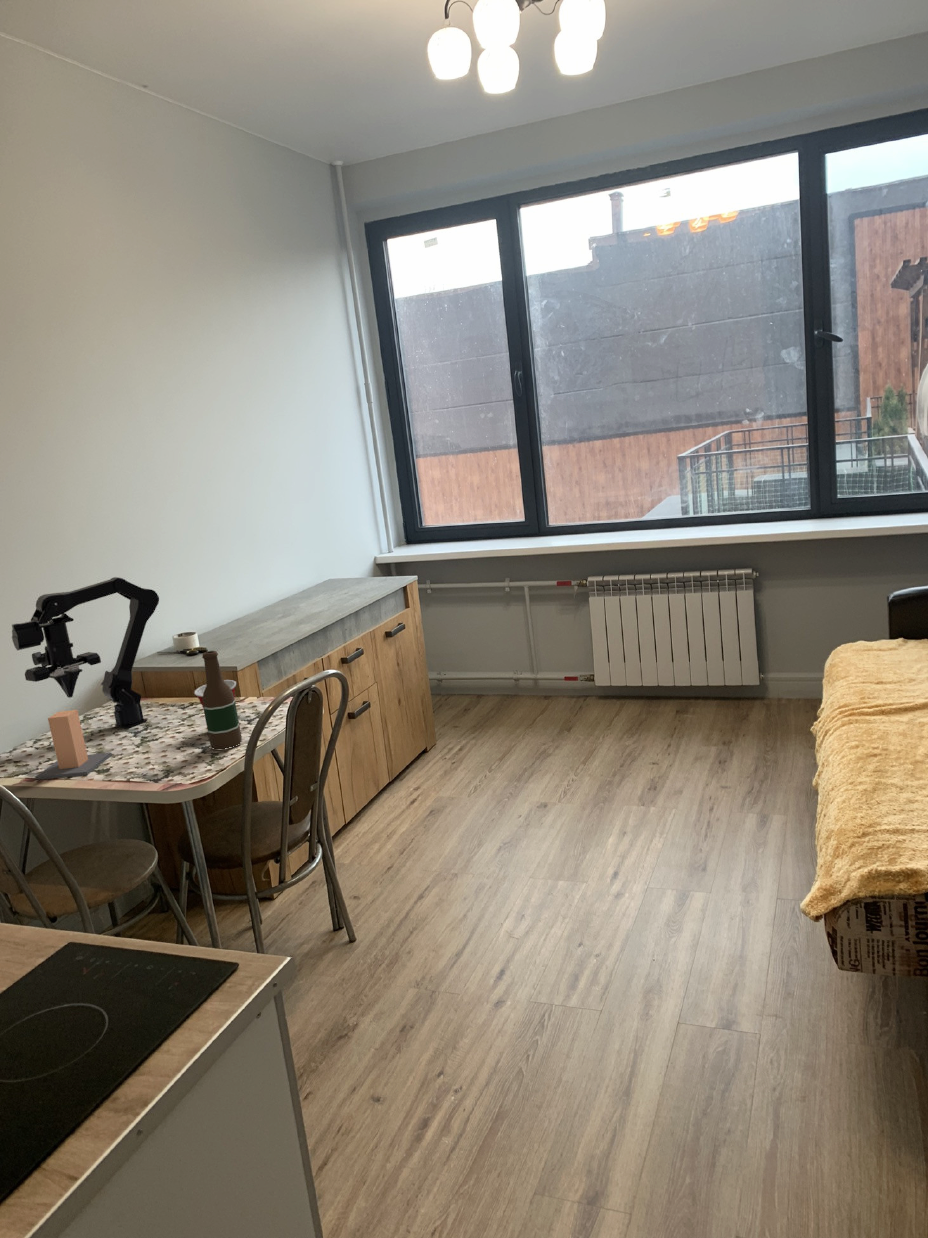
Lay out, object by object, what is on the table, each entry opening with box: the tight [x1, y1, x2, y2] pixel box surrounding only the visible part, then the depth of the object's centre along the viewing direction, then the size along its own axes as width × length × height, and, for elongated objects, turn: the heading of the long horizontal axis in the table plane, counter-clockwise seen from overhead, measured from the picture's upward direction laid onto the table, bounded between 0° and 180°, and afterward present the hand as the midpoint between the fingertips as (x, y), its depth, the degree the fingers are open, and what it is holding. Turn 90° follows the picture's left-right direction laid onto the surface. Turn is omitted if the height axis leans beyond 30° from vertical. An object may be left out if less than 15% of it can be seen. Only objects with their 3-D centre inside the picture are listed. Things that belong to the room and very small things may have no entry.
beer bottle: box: [201, 650, 243, 750], centre depth 229 cm, size 8×8×24 cm
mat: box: [34, 752, 112, 781], centre depth 229 cm, size 13×13×1 cm
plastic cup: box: [194, 679, 237, 708], centre depth 243 cm, size 11×11×12 cm
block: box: [47, 709, 88, 769], centre depth 228 cm, size 5×5×13 cm
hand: (70, 697), depth 250 cm, fingers closed
